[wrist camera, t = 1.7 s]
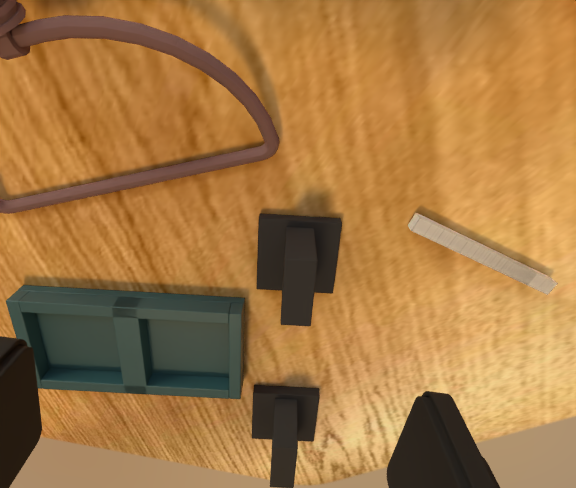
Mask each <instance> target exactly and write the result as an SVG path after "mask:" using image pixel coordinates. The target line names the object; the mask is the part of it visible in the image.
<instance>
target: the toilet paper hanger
mask: <svg viewBox="0 0 576 488" xmlns="http://www.w3.org/2000/svg"><path fill="white" fill-rule="evenodd" d="M25 12H26V10H25V8H24V7H23V6H22V4H21V3H18V2H16V0H0V57H1V58H3V59H6V60H8V59H12V58H16V57H20V56H24V55H27V54H28V53H30V46H31V45H35V44H39V43H43V42H47V41H54V40H61V39H68V38H93V39H110V40H115V41H121V42H127V43H132V44H138V45H142V46H145V47H148V48H151V49H154V50H157V51H160V52H163V53H166V54H169V55H172V56H174V57H176V58H178V59H180V60H182V61H184V62H186V63H188V64H190V65H192V66H194V67H196V68H198V69H200V70H202V71H203V72H204V73H206V74H207V75H209V76H210V77H211V78H213V79H214V80H216V81H217V82H219V83H220V84H221V85H223V86H224V87H226V88H227V89H228V90H229V91H230V92H231V93H232V94H233V95H234V96H235V97H236V98H237V99H238V100H239V101H240V102H241V103H242V104H243V105H244V106H245V108H246V109H247V111H248V112H249V113H250V115H251V116H252V118H253V119H254V121H255V122H256V123H257V125H258V127H259V130H260V132H261V134H262V137H263V139H264V141H265V143H264V144H263V145H262V146H259V147H255V148H250V149H246V150H241V151H236V152H232V153H227V154H222V155H218V156H213V157H208V158H204V159H199V160H194V161H190V162H185V163H181V164H176V165H171V166H167V167H162V168H157V169H153V170H148V171H143V172H139V173H134V174H130V175H125V176H120V177H116V178H111V179H106V180H102V181H97V182H92V183H88V184H83V185H78V186H74V187H69V188H65V189H60V190H55V191H51V192H46V193H41V194H37V195H32V196H27V197H23V198H18V199H14V200H3V199H0V213H8V214H9V213H16V212H21V211H26V210H31V209H35V208H40V207H45V206H49V205H54V204H59V203H64V202H68V201H73V200H78V199H82V198H87V197H92V196H97V195H101V194H106V193H111V192H116V191H120V190H125V189H130V188H134V187H139V186H144V185H149V184H153V183H158V182H163V181H167V180H172V179H177V178H182V177H186V176H191V175H196V174H201V173H205V172H210V171H215V170H219V169H224V168H229V167H234V166H238V165H243V164H248V163H252V162H257V161H262V160H265V159H268V158H270V157H272V156H273V155H274V154H275V153H276V151H277V150H278V146H279V137H278V135H277V132H276V130H275V127H274V125H273V122H272V120H271V117H270V115H269V114H268V112H267V111H266V109H265V108H264V106H263V105H262V103H261V102H260V100H259V99H258V97H257V96H256V94H255V93H254V92H253V91H252V90H251V89H250V88H249V87H248V86H247V85H246V83H245V82H244V81H243V80H242V79H241V78H240V77H239V76H238V75H237V74H236V73H235V72H234V71H232V70H231V69H230V68H228V67H227V66H226V65H224V64H223V63H222V62H220V61H219V60H218V59H216V58H215V57H214V56H212V55H211V54H210V53H208V52H206V51H204V50H202V49H200V48H198V47H197V46H195V45H193V44H191V43H189V42H187V41H185V40H183V39H182V38H180V37H178V36H175V35H172V34H169V33H167V32H164V31H161V30H158V29H155V28H152V27H150V26H147V25H144V24H141V23H135V22H130V21H125V20H120V19H114V18H109V17H104V16H69V15H64V16H58V17H51V18H45V19H38V20H34V21H31V22H27V23H23V24H19V23H20V22H21V21H22V20H23V19H24V18H25ZM18 24H19V25H18Z"/></svg>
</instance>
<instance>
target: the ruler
mask: <svg viewBox="0 0 576 488" xmlns="http://www.w3.org/2000/svg"><path fill="white" fill-rule="evenodd" d="M408 227H409V228H410V230H411V231H413V232H415V233H417V234H419V235H421V236H423V237H426V238H428V239H430V240H432V241H434V242H436V243H438V244H441V245H443V246H445V247H447V248H449V249H451V250H453V251H455V252H458V253H460V254H462V255H464V256H466V257H468V258H470V259H472V260H475V261H477V262H479V263H481V264H483V265H485V266H487V267H489V268H492V269H494V270H496V271H498V272H500V273H502V274H504V275H507V276H509V277H511V278H513V279H515V280H517V281H519V282H521V283H524V284H526V285H528V286H530V287H532V288H534V289H536V290H538V291H541V292H543V293H545V294H547V295H548V294H549V293H550V292H551V291H552V289H553V288H554V287H555V286H556V285H557V284H558V283H557V282H555V281H554V280H553V279H552V278H551V277H549V276H547V275H545V274H543V273H541V272H539V271H537V270H535V269H533V268H531V267H528V266H526V265H524V264H522V263H520V262H518V261H516V260H514V259H512V258H510V257H508V256H506V255H503V254H501V253H499V252H497V251H495V250H493V249H491V248H489V247H487V246H485V245H483V244H481V243H479V242H476V241H474V240H472V239H470V238H468V237H466V236H464V235H462V234H460V233H458V232H456V231H454V230H451V229H449V228H447V227H445V226H443V225H441V224H439V223H437V222H435V221H433V220H431V219H429V218H426V217H424V216H422V215H420V214H418V213H415V215H414V216H413V218H412V219H411V221H410V222H409V224H408Z"/></svg>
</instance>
